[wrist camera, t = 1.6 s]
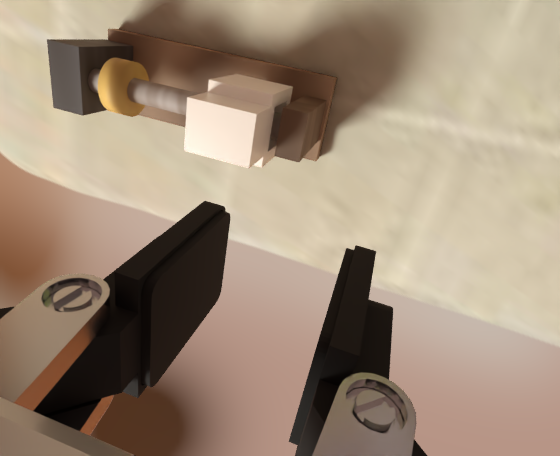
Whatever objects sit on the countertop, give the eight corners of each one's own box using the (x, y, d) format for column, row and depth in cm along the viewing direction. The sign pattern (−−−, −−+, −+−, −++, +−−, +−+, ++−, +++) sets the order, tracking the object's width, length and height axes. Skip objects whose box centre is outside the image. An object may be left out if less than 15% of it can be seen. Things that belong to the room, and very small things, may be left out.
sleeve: (292, 86, 26) (258, 100, 20) (281, 150, 28) (247, 179, 22) (237, 73, 27) (188, 83, 21) (230, 136, 29) (183, 162, 23)
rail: (337, 77, 28) (316, 88, 22) (319, 157, 31) (296, 187, 25) (115, 28, 32) (42, 25, 25) (117, 105, 34) (51, 119, 28)
